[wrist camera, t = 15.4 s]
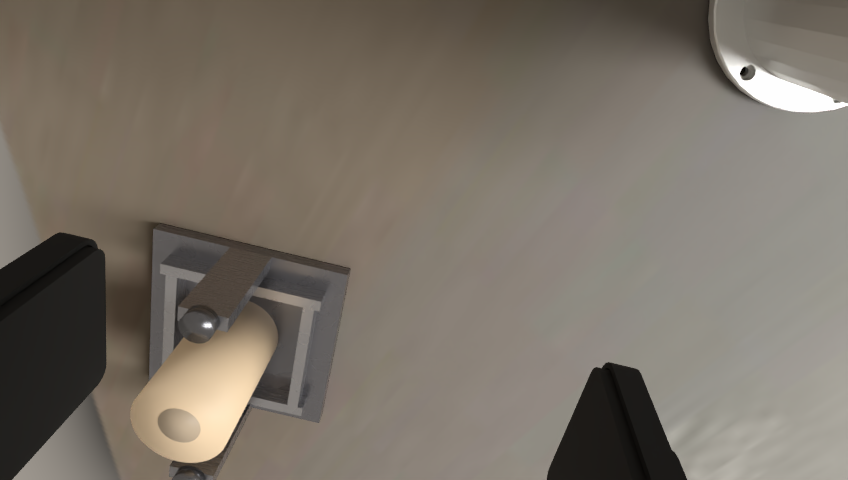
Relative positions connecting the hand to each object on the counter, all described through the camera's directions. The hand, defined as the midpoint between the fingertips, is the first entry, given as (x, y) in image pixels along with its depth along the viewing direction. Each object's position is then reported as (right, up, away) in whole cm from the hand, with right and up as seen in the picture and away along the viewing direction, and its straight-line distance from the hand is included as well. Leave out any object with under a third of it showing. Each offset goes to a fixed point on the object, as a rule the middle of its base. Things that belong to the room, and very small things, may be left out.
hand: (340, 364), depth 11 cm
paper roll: (-12, -5, +33) cm, 36 cm away
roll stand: (-12, -4, +34) cm, 37 cm away
